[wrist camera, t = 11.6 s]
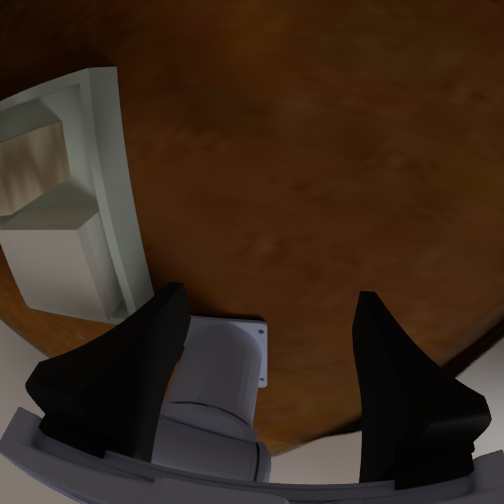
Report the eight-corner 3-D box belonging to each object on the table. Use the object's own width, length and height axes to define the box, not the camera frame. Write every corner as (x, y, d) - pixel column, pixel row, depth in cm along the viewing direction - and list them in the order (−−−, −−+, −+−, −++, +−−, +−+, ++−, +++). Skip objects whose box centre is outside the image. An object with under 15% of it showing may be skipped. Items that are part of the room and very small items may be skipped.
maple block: (71, 176, 21) (11, 215, 15) (35, 181, 22) (-22, 217, 16) (61, 120, 19) (-6, 146, 13) (25, 131, 20) (-38, 158, 14)
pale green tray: (156, 302, 28) (142, 328, 25) (47, 288, 30) (29, 307, 27) (116, 66, 18) (88, 68, 15) (-2, 107, 19) (-29, 115, 16)
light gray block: (127, 291, 26) (107, 321, 23) (48, 281, 28) (26, 305, 24) (105, 205, 22) (77, 229, 19) (23, 210, 23) (-5, 230, 20)
